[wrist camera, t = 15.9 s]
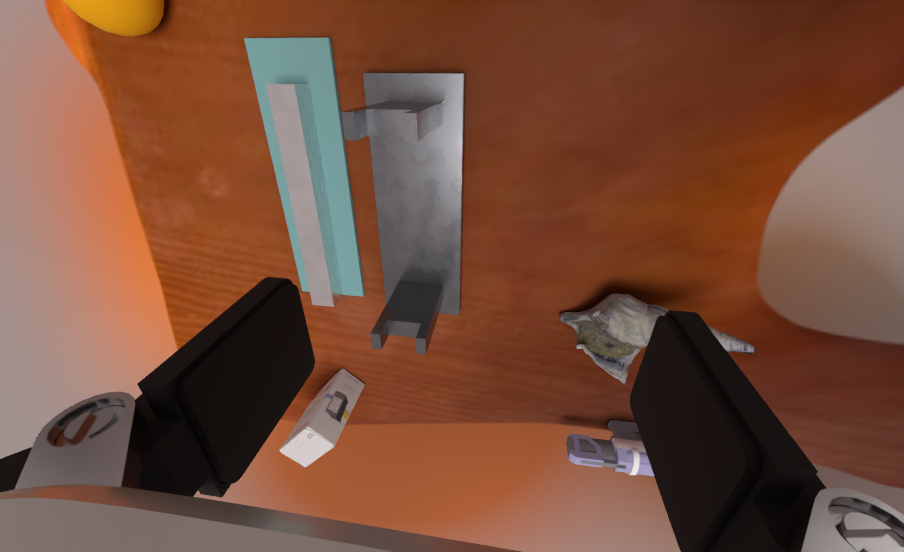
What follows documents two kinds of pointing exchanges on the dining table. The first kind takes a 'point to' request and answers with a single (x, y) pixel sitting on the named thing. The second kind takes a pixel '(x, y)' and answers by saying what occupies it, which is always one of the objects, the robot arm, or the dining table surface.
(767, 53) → the dining table surface
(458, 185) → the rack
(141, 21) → the yellow orange fruit
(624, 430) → the toy gun
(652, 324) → the seashell
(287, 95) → the rail
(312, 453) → the ink box
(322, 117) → the mat
